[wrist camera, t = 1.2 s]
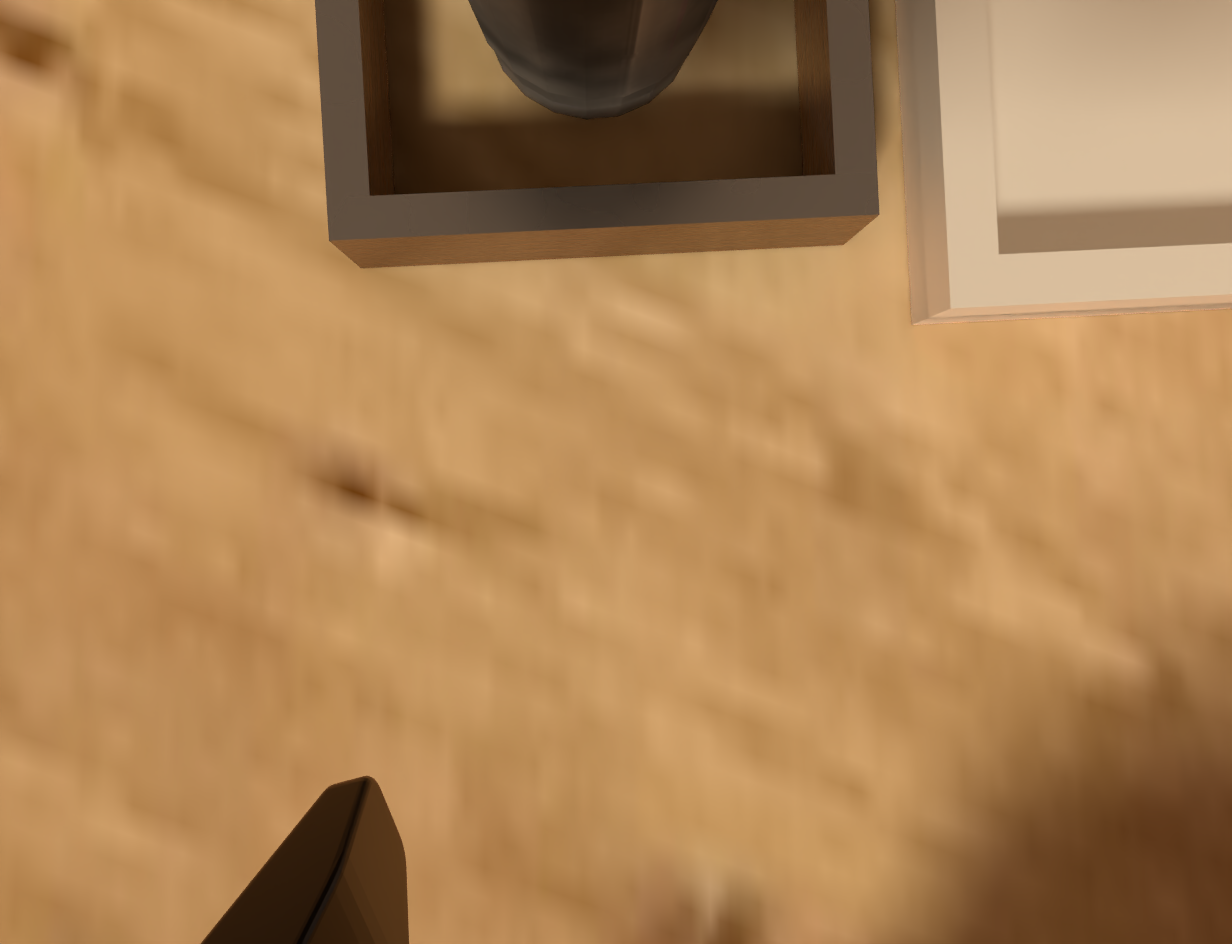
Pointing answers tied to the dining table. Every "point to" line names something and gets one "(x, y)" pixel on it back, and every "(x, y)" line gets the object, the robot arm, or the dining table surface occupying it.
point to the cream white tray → (1066, 157)
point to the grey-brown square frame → (602, 214)
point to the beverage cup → (592, 49)
